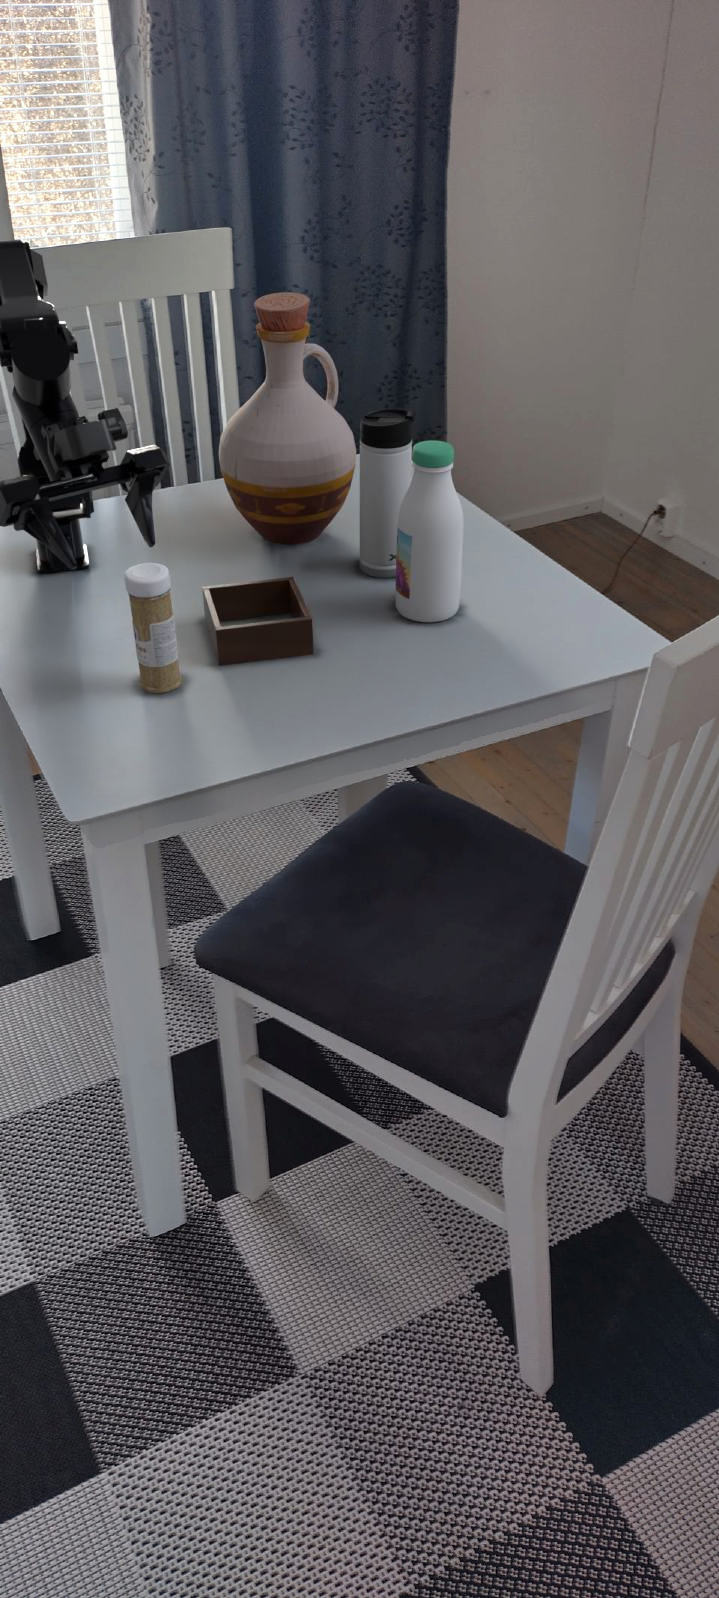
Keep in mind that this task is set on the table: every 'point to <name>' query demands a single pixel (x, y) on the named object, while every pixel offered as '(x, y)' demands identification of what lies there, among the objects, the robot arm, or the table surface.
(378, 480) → the travel mug
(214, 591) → the crate
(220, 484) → the table surface
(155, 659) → the sprinkles bottle
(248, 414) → the jug
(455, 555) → the milk bottle
